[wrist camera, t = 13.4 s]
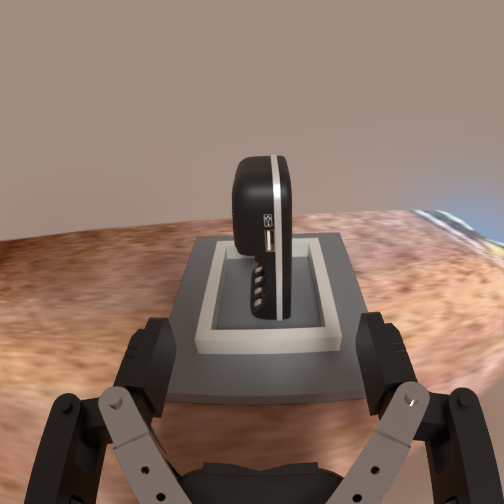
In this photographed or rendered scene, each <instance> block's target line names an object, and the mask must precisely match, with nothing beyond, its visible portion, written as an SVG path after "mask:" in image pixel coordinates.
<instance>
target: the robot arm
mask: <svg viewBox="0 0 504 504" xmlns="http://www.w3.org/2000/svg"><path fill="white" fill-rule="evenodd" d="M355 347H356V353H357V357H358V362H359V366H360V370H361V375H362V379H363V384H364V388H365V393H366V397H367V402H368V407H369V412H370V416H372V415H378V416H379V420H380V422H379V424H378V425H377V427H376V429H375V431H374V432H373V434H372V436H371V437H370V439H369V441H368V442H367V444H366V445H365V447H364V449H363V450H362V452H361V453H360V455H359V457H358V458H357V460H356V461H355V463H354V464H353V466H352V467H351V469H350V470H349V472H348V473H347V475H346V476H345V477H344V478H343V477H342V476H340V475H338V474H336V473H334V472H332V471H329V470H326V469H321V468H318V463H317V462H313V463H298V464H287V465H283V466H280V467H276V468H272V469H267V470H263V471H257V470H253V469H249V468H245V467H241V466H237V465H233V464H220V463H205V462H204V466H203V469H198V470H194V471H191V472H189V473H186V474H184V475H183V476H182V475H181V473H180V472H179V470H178V469H177V467H176V466H175V464H174V463H173V462H172V460H171V459H170V457H169V455H168V454H167V452H166V450H165V449H164V447H163V445H162V444H161V442H160V440H159V438H158V437H157V435H156V433H155V431H154V430H153V428H152V426H151V422H152V418H153V417H156V418H161V416H162V412H163V408H164V403H165V399H166V395H167V390H168V386H169V382H170V378H171V373H172V369H173V365H174V361H175V357H176V350H177V348H176V341H175V338H174V335H173V332H172V329H171V326H170V323H169V320H168V318H153V317H150V318H149V319H148V322H147V324H146V327H145V329H138V330H137V332H136V333H135V334H134V335H133V336H132V337H131V339H130V342H129V344H128V347H127V349H126V352H125V355H124V356H125V357H123V360H122V363H121V365H120V368H119V371H118V374H117V376H116V379H115V382H114V385H113V387H111V388H108V389H107V390H105V391H104V392H103V393H102V394H101V396H100V397H98V398H93V399H86V400H80V399H79V398H78V397H77V396H76V395H74V394H71V393H66V394H63V395H61V396H59V397H58V398H57V399H56V400H55V401H54V403H53V406H52V408H51V411H50V414H49V417H48V420H47V423H46V426H45V429H44V432H43V435H42V438H41V441H40V445H39V448H38V451H37V455H36V458H35V462H34V465H33V469H32V473H31V476H30V480H29V484H28V488H27V492H26V497H25V501H24V504H96V498H97V492H98V487H99V481H100V476H101V471H102V466H103V461H104V456H105V451H106V447H107V444H110V443H114V445H115V448H114V453H115V456H116V458H117V460H118V462H119V464H120V466H121V468H122V470H123V473H124V475H125V477H126V479H127V481H128V483H129V484H130V486H131V488H132V490H133V492H134V494H135V496H136V498H137V499H138V501H139V503H140V504H380V503H381V501H382V500H383V498H384V496H385V495H386V493H387V491H388V490H389V488H390V486H391V485H392V483H393V481H394V479H395V477H396V476H397V474H398V472H399V470H400V468H401V467H402V465H403V463H404V461H405V459H406V457H407V455H408V453H409V451H410V448H411V446H410V444H411V442H412V440H418V441H425V446H426V451H427V457H428V463H429V470H430V476H431V483H432V490H433V499H434V504H504V498H503V492H502V487H501V482H500V477H499V472H498V468H497V463H496V459H495V455H494V451H493V447H492V443H491V439H490V436H489V432H488V429H487V426H486V422H485V419H484V415H483V412H482V409H481V406H480V403H479V400H478V397H477V395H476V394H475V393H474V392H473V391H472V390H470V389H468V388H463V387H462V388H457V389H455V390H454V391H453V392H452V393H451V394H450V395H447V394H438V393H432V392H429V391H428V390H427V389H426V388H425V387H424V386H423V385H422V384H420V383H418V381H417V379H416V376H415V373H414V370H413V367H412V364H411V361H410V359H409V356H408V353H407V351H406V348H405V345H404V343H403V340H402V337H401V334H400V332H399V330H398V329H397V328H396V327H395V326H394V325H393V324H392V323H387V324H384V321H383V318H382V315H381V313H380V312H369V313H362V314H361V317H360V321H359V326H358V330H357V335H356V341H355Z"/></svg>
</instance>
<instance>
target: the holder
mask: <svg viewBox="0 0 504 504" xmlns="http://www.w3.org/2000/svg"><path fill="white" fill-rule="evenodd" d="M258 265H259V263H257V262H256V261H255V256H245V255H241V254H239V253H238V252H237V248H236V247H235V244H234V236H222V237H198V238H196V241H195V244H194V246H193V249H192V252H191V255H190V258H189V261H188V264H187V267H186V270H185V273H184V276H183V279H182V282H181V285H180V288H179V291H178V294H177V297H176V300H175V303H174V306H173V309H172V312H171V316H170V319H169V323H170V326H171V329H172V332H173V335H174V338H175V341H176V348H177V350H176V357H175V361H174V365H173V369H172V373H171V378H170V382H169V386H168V390H167V395H166V399H165V401H173V402H186V403H202V404H228V405H275V404H301V403H318V402H331V401H342V400H352V399H360V398H367V397H366V393H365V388H364V384H363V379H362V375H361V370H360V366H359V362H358V357H357V353H356V347H355V341H356V335H357V330H358V326H359V321H360V317H361V314H362V313H368V311H367V308H366V305H365V302H364V299H363V296H362V293H361V290H360V287H359V284H358V281H357V279H356V276H355V273H354V270H353V267H352V265H351V262H350V259H349V257H348V254H347V251H346V249H345V246H344V243H343V241H342V238H341V235H340V233H307V234H292V286H291V317H290V318H289V319H282V321H277V320H265V319H259V318H256V317H254V316H253V315H252V313H251V308H250V297H251V276H252V271H253V270H254V269H255V268H257V266H258Z"/></svg>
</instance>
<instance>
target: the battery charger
mask: <svg viewBox="0 0 504 504" xmlns="http://www.w3.org/2000/svg"><path fill="white" fill-rule="evenodd" d="M232 214H233V215H232V216H233V233H234V244H235V247H236V248H237V252H238V253H239V254H241V255H245V256H255V261H256V262H257V263H259V265H258V266H257V268H255V269H254V270H253V271H252V276H251V297H250V308H251V313H252V315H253V316H254V317H256V318H259V319H265V320H277V321H282V319H289V318H290V317H291V286H292V192H291V181H290V175H289V171H288V166H287V162H286V159H285V157H283V156H276V155H270V156H259V157H248V158H245V159H243V160H242V161H241V162H240V163H239V165H238V168H237V171H236V174H235V179H234V184H233V190H232Z"/></svg>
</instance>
